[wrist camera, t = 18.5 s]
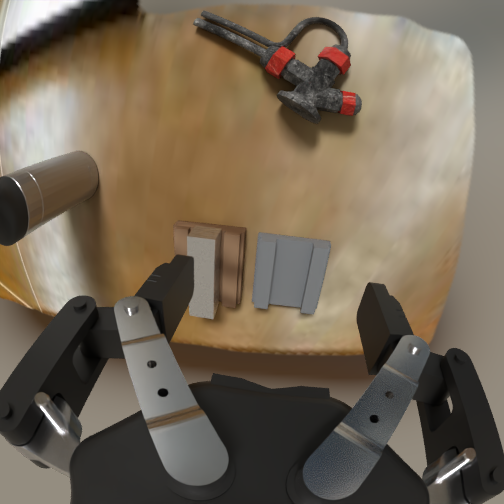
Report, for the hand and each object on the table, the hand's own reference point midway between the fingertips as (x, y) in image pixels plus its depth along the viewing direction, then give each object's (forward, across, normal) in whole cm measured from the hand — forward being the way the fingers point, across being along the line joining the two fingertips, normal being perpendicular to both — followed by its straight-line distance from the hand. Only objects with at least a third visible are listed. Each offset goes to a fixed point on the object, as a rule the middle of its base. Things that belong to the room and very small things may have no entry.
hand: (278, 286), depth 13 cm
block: (+28, +10, +17) cm, 34 cm away
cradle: (+30, +10, +16) cm, 35 cm away
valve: (+30, +2, -18) cm, 35 cm away
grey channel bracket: (+30, -3, +16) cm, 34 cm away
